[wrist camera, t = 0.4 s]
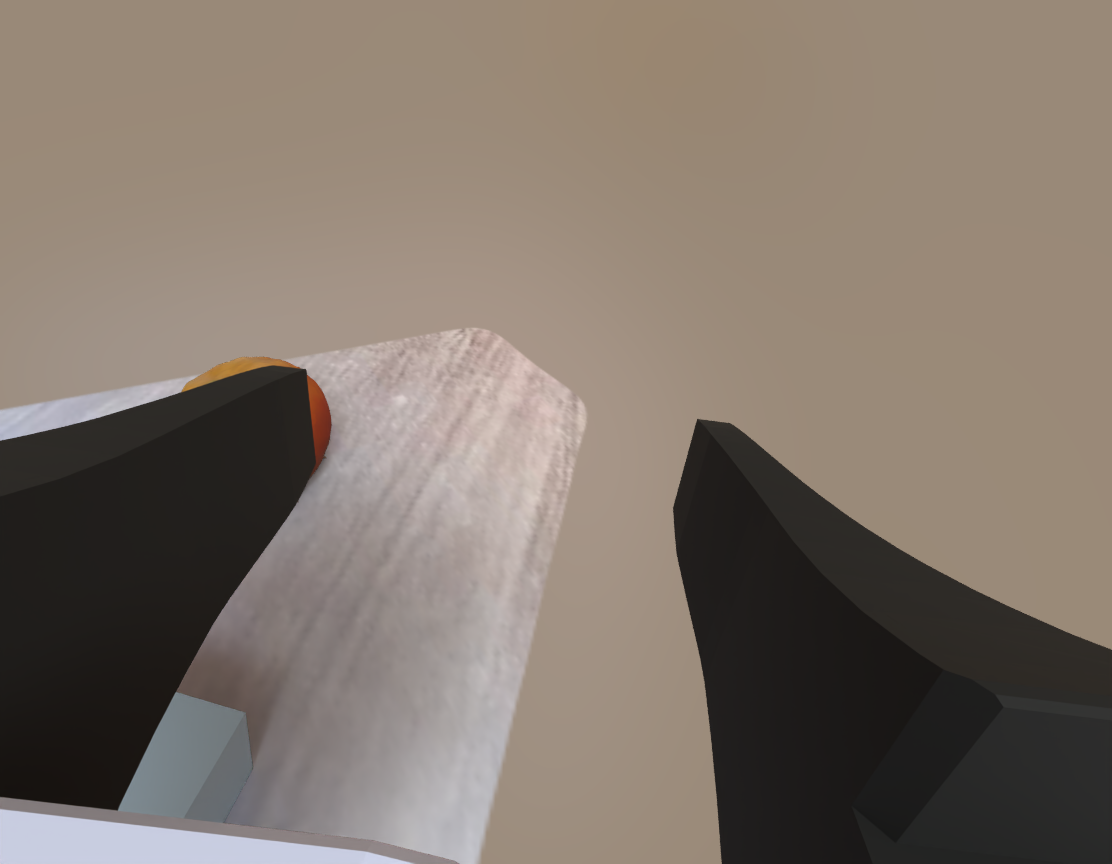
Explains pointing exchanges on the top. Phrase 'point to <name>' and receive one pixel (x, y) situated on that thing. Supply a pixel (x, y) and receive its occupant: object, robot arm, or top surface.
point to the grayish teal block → (192, 763)
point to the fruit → (316, 396)
